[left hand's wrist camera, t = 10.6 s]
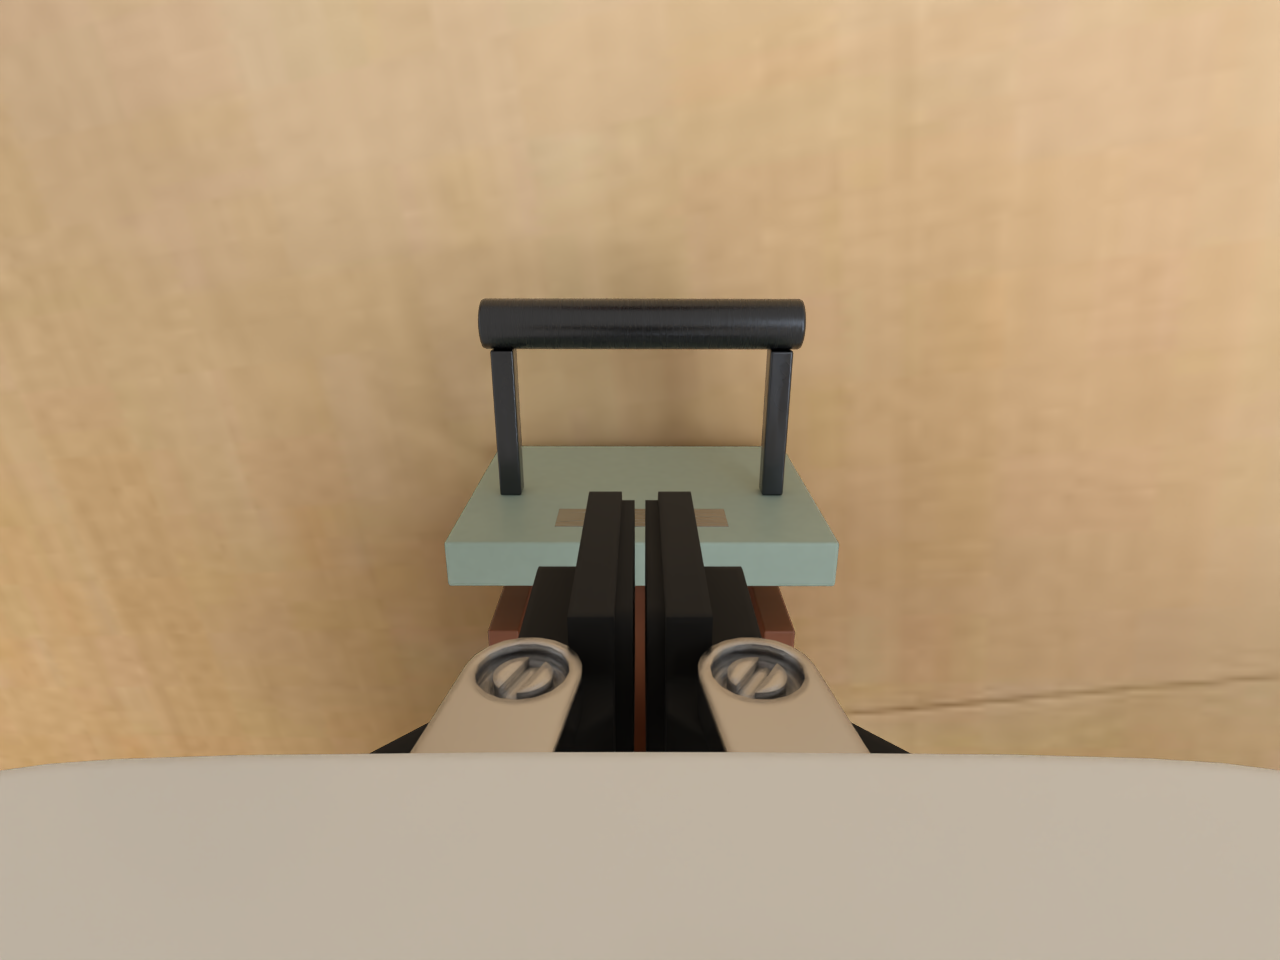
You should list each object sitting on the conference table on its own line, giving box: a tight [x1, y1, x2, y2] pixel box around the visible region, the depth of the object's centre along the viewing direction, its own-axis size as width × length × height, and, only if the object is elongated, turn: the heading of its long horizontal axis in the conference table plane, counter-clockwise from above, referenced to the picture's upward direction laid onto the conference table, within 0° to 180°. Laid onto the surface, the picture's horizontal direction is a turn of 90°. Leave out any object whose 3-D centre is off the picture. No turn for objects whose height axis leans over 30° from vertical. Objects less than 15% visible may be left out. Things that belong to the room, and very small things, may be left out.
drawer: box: [445, 299, 839, 752], centre depth 23 cm, size 23×10×8 cm, turn 0°
